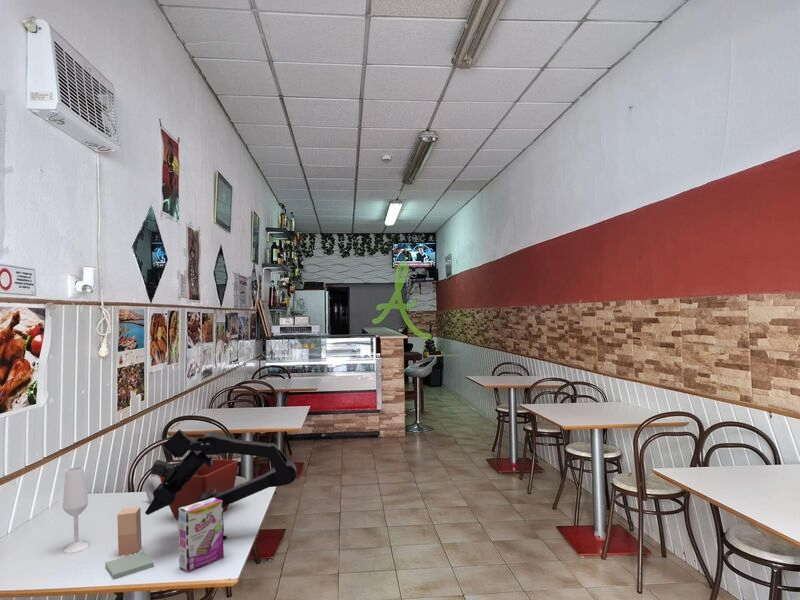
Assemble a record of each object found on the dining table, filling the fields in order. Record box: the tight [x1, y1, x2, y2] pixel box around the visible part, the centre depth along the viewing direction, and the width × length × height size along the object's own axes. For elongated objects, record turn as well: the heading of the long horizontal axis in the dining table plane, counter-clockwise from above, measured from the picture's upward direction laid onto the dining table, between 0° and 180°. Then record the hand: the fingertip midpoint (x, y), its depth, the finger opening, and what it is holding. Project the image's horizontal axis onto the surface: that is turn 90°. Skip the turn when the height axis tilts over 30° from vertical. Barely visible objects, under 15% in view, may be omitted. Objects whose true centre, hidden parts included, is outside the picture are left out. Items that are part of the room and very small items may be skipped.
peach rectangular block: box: [116, 506, 143, 557], centre depth 159 cm, size 5×5×12 cm
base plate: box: [104, 551, 155, 580], centre depth 148 cm, size 10×10×1 cm
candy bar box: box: [178, 498, 224, 573], centre depth 149 cm, size 11×5×16 cm, turn 141°
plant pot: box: [159, 458, 239, 521], centre depth 187 cm, size 19×19×17 cm
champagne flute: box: [62, 466, 90, 554], centre depth 163 cm, size 7×7×24 cm
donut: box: [145, 476, 161, 503], centre depth 201 cm, size 10×4×10 cm, turn 53°
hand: (150, 508), depth 160 cm, fingers open, 9 cm apart
